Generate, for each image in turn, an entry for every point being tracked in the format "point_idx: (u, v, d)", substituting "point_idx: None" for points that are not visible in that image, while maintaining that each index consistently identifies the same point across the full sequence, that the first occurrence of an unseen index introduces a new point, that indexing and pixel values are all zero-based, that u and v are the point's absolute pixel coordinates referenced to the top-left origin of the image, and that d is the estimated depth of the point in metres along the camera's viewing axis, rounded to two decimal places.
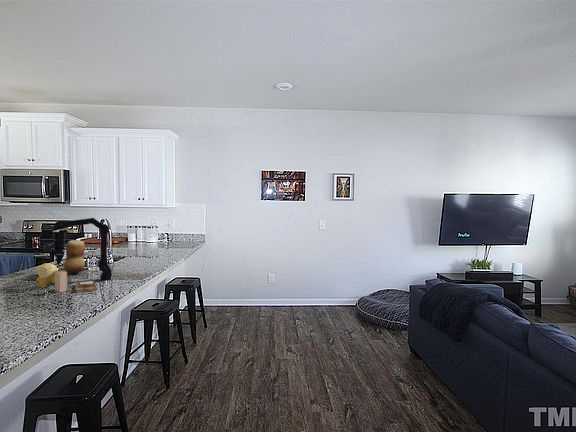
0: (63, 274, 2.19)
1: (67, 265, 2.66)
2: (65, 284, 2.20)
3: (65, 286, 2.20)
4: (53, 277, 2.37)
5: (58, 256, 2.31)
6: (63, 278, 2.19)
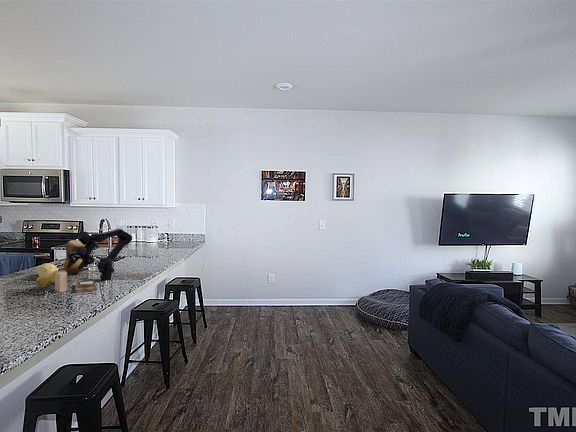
0: (63, 274, 2.19)
1: None
2: (65, 284, 2.20)
3: (65, 286, 2.20)
4: (53, 277, 2.37)
5: (84, 262, 2.28)
6: (63, 278, 2.19)
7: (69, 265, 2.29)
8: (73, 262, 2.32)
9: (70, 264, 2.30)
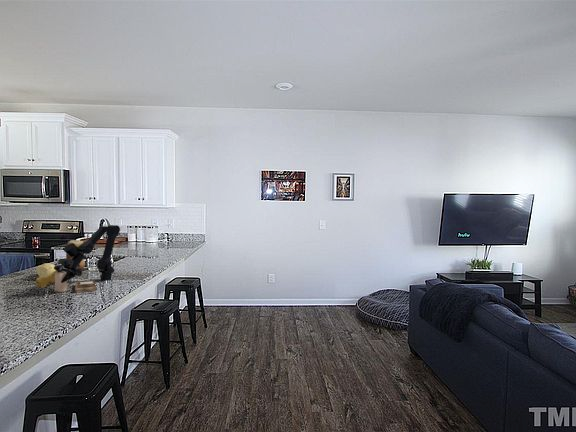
0: (63, 274, 2.19)
1: None
2: (65, 284, 2.20)
3: (65, 286, 2.20)
4: (53, 277, 2.37)
5: (68, 275, 2.20)
6: None
7: None
8: None
9: None
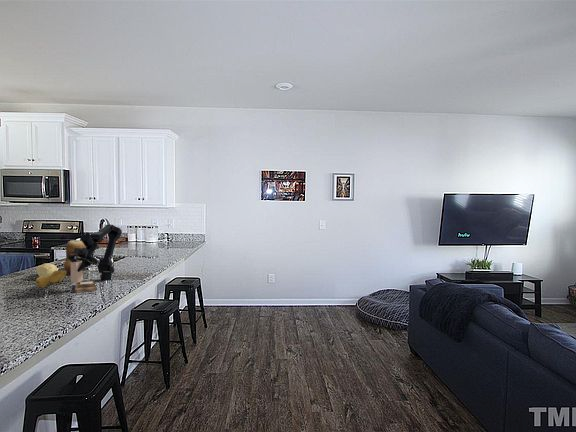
0: (79, 263, 2.20)
1: (67, 265, 2.66)
2: (81, 273, 2.22)
3: (81, 275, 2.22)
4: (53, 277, 2.37)
5: (84, 264, 2.22)
6: None
7: None
8: None
9: None
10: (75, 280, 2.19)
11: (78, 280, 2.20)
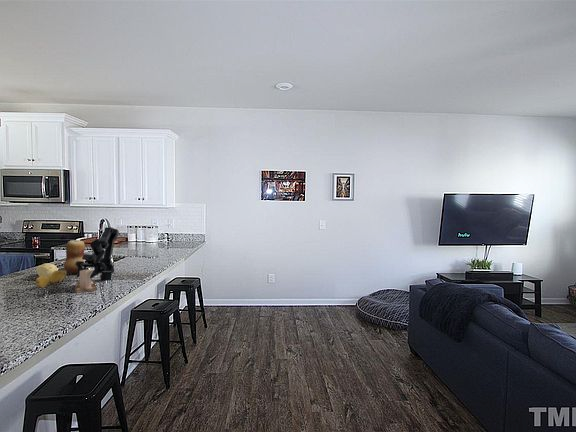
0: (88, 271, 2.22)
1: (67, 265, 2.66)
2: (90, 281, 2.24)
3: (90, 283, 2.24)
4: (53, 277, 2.37)
5: (96, 270, 2.24)
6: (88, 275, 2.23)
7: (79, 274, 2.24)
8: None
9: None
10: (84, 288, 2.21)
11: None
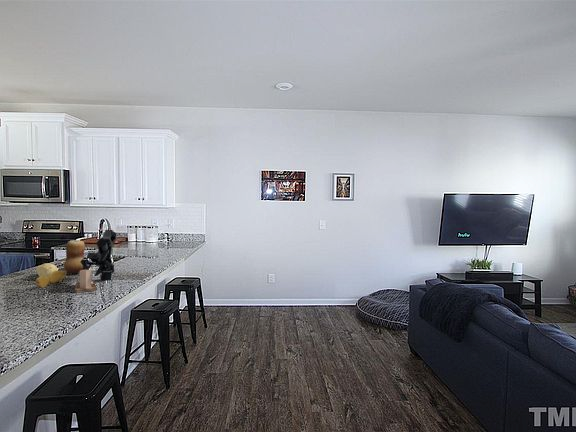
0: (88, 271, 2.22)
1: (67, 265, 2.66)
2: (90, 281, 2.24)
3: (90, 283, 2.24)
4: (53, 277, 2.37)
5: (101, 268, 2.28)
6: (88, 275, 2.23)
7: None
8: (87, 268, 2.31)
9: None
10: (84, 288, 2.21)
11: None
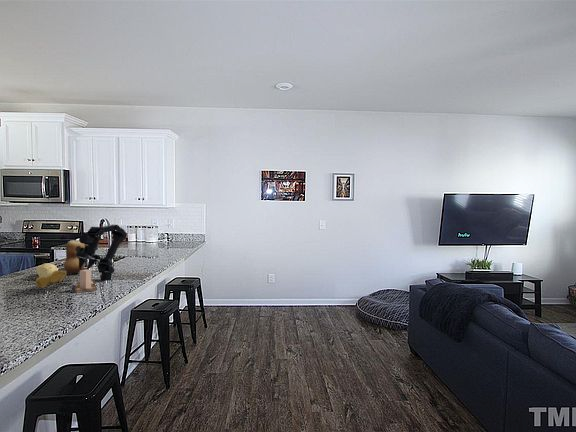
0: (88, 271, 2.22)
1: (67, 265, 2.66)
2: (90, 281, 2.24)
3: (90, 283, 2.24)
4: (53, 277, 2.37)
5: (81, 259, 2.30)
6: (88, 275, 2.23)
7: (88, 265, 2.39)
8: (92, 261, 2.40)
9: (89, 264, 2.40)
10: (84, 288, 2.21)
11: None
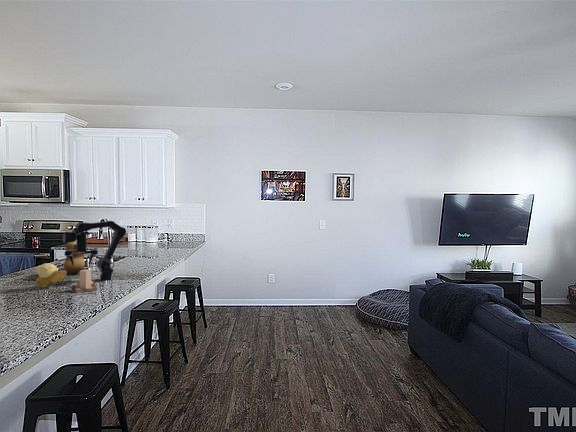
0: (88, 271, 2.22)
1: (67, 265, 2.66)
2: (90, 281, 2.24)
3: (90, 283, 2.24)
4: (53, 277, 2.37)
5: None
6: (88, 275, 2.23)
7: (89, 261, 2.41)
8: None
9: (89, 260, 2.41)
10: (84, 288, 2.21)
11: None
